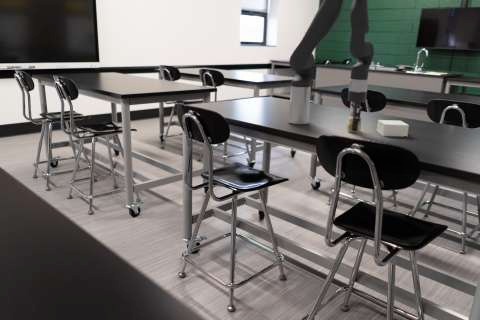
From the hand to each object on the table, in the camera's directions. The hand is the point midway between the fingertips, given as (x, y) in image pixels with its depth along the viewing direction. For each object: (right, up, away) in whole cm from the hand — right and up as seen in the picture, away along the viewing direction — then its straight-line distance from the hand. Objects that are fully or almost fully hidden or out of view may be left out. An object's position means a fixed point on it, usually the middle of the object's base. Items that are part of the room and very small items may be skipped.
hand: (353, 129), depth 175 cm
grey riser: (+16, -2, -2) cm, 16 cm away
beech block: (0, -1, 0) cm, 1 cm away
